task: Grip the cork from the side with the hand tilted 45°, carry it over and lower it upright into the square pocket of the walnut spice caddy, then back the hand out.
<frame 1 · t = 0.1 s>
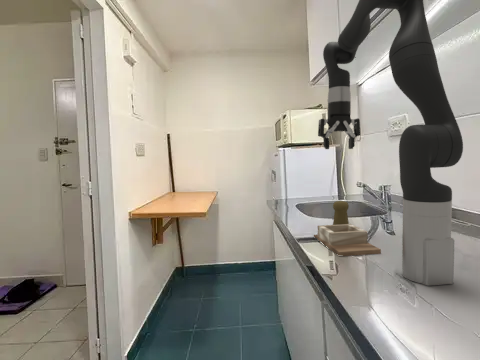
hand: (339, 149, 115), 29 cm above the counter, tool pointing down, fingers open, 8 cm apart
spice caddy: (341, 243, 102), on the counter
cork: (340, 232, 116), on the counter
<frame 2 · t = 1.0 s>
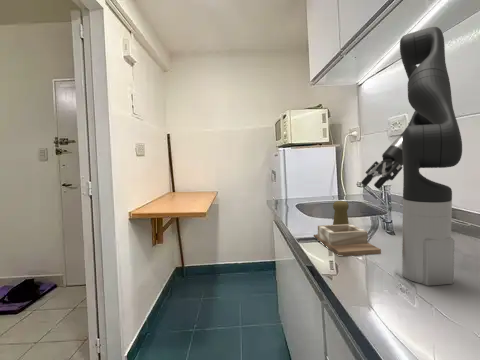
hand: (369, 185, 117), 16 cm above the counter, tool tilted 45°, fingers open, 8 cm apart
nothing on the counter moved.
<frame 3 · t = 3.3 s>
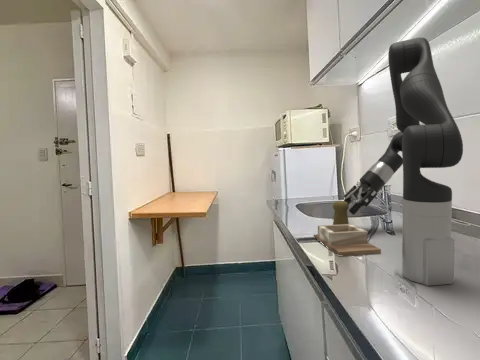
hand: (345, 210, 116), 8 cm above the counter, tool tilted 45°, fingers open, 8 cm apart
nothing on the counter moved.
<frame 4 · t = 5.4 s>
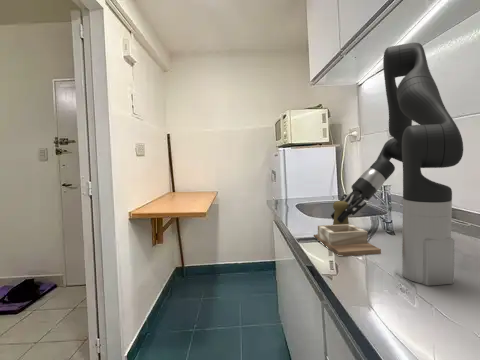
hand: (335, 219, 116), 5 cm above the counter, tool tilted 45°, fingers closed on cork, 4 cm apart
cork: (340, 232, 116), on the counter, touching gripper
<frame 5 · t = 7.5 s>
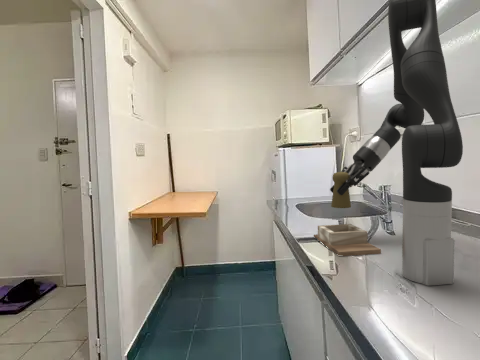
hand: (335, 192, 104), 15 cm above the counter, tool tilted 45°, fingers closed on cork, 4 cm apart
cork: (341, 207, 105), point 11 cm above the counter, touching gripper
when the fingers open (7 cm above the counter, at t = 10.1 s): cork drops 1 cm, resting on spice caddy.
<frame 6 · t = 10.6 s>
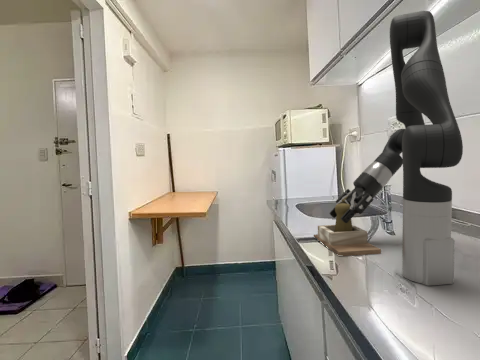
hand: (337, 218, 101), 8 cm above the counter, tool tilted 45°, fingers open, 8 cm apart
cork: (343, 239, 102), point 1 cm above the counter, touching spice caddy
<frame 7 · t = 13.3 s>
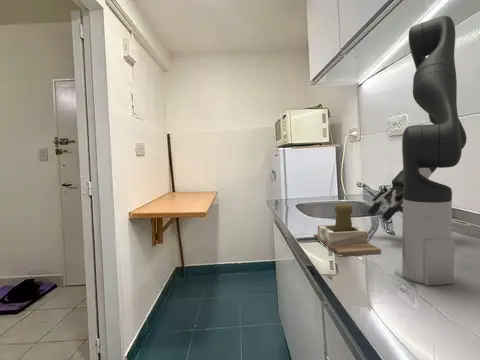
hand: (376, 216, 103), 8 cm above the counter, tool tilted 45°, fingers open, 8 cm apart
nothing on the counter moved.
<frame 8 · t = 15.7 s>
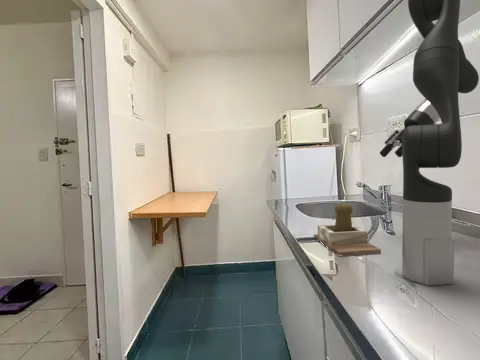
hand: (389, 155, 104), 27 cm above the counter, tool tilted 45°, fingers open, 8 cm apart
nothing on the counter moved.
at the end: cork 1.2 cm off-centre on the spice caddy, point 1.0 cm above the spice caddy's base; cork tilted 0°; the gripper is holding nothing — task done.
